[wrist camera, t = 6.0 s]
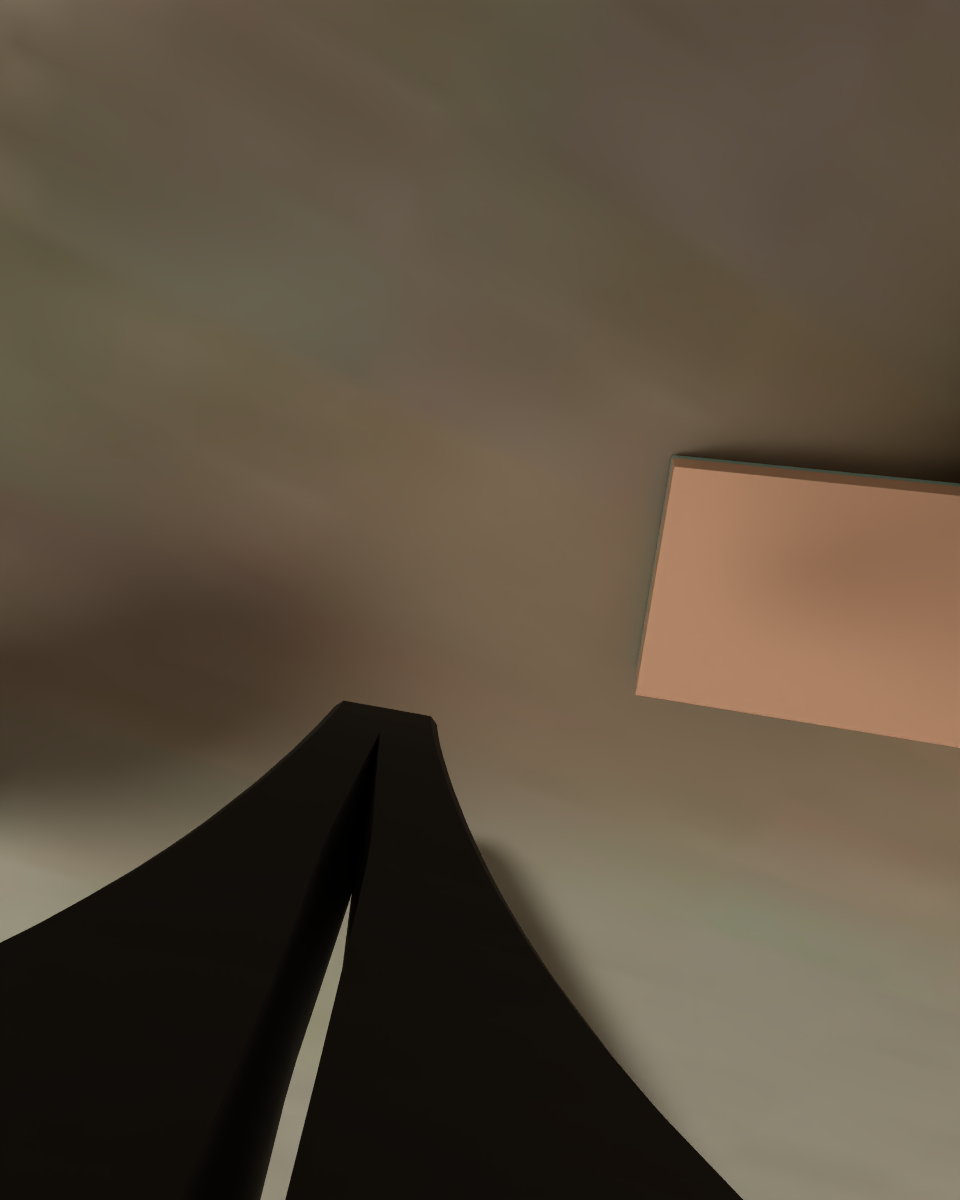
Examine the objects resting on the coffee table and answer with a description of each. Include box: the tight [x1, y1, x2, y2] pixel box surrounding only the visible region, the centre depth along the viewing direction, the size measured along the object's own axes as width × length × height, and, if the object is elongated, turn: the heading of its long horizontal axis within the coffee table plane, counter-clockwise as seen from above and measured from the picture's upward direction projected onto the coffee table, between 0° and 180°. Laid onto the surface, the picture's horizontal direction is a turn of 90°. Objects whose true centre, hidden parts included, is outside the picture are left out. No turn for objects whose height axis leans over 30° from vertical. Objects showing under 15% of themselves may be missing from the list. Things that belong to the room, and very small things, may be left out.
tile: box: [636, 455, 960, 748], centre depth 17 cm, size 2×6×8 cm
